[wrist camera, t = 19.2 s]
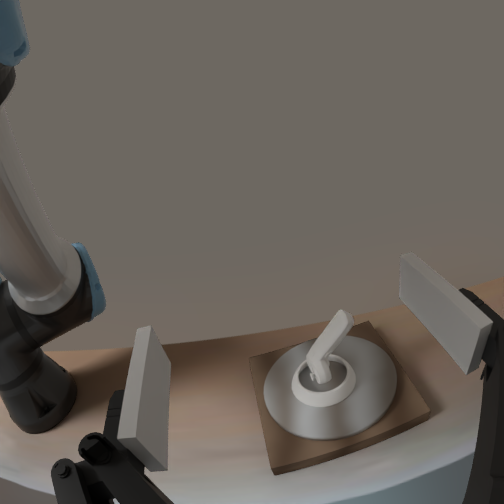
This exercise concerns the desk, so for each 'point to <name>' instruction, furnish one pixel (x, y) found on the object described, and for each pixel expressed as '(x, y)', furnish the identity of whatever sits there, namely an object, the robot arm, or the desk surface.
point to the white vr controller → (326, 365)
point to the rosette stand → (338, 415)
